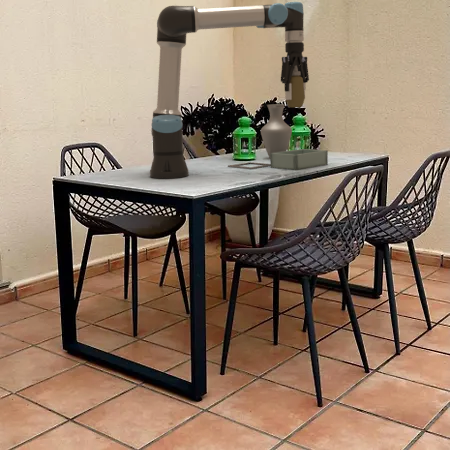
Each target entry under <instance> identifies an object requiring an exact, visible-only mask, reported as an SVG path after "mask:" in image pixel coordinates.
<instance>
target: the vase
mask: <svg viewBox="0 0 450 450" xmlns="http://www.w3.org/2000/svg"><path fill="white" fill-rule="evenodd" d="M285 105H286V104H279V103H277V104H266V106H267V108H268V111H269V115H270V116H269V120H268V122H267V123H265V124H264V126H262V128H261V129H260V135H261V138H262V142H263V144H264V148H265V150H266V151H265V152H266V153H267V155H268V158H269V159H270V153H277V152H284V151H288V148H289V144H290V141H291V137H292V133H293V129H292V127H291V126H289V124H287V123H286V122H285V121H284V119H283V111H284V108H285Z"/></svg>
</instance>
